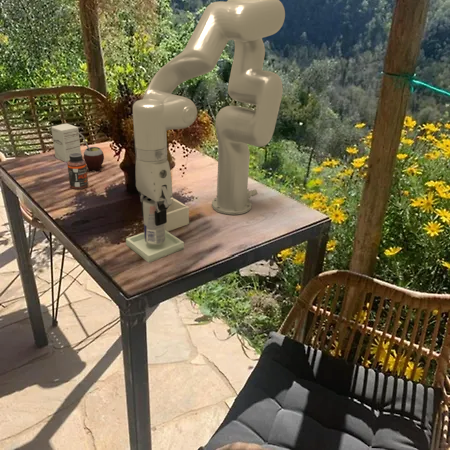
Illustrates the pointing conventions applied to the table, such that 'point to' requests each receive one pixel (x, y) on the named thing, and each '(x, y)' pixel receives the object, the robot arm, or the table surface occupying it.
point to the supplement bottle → (77, 171)
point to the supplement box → (65, 141)
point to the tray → (154, 246)
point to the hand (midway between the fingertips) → (154, 219)
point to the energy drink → (152, 223)
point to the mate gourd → (93, 157)
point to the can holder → (176, 215)
